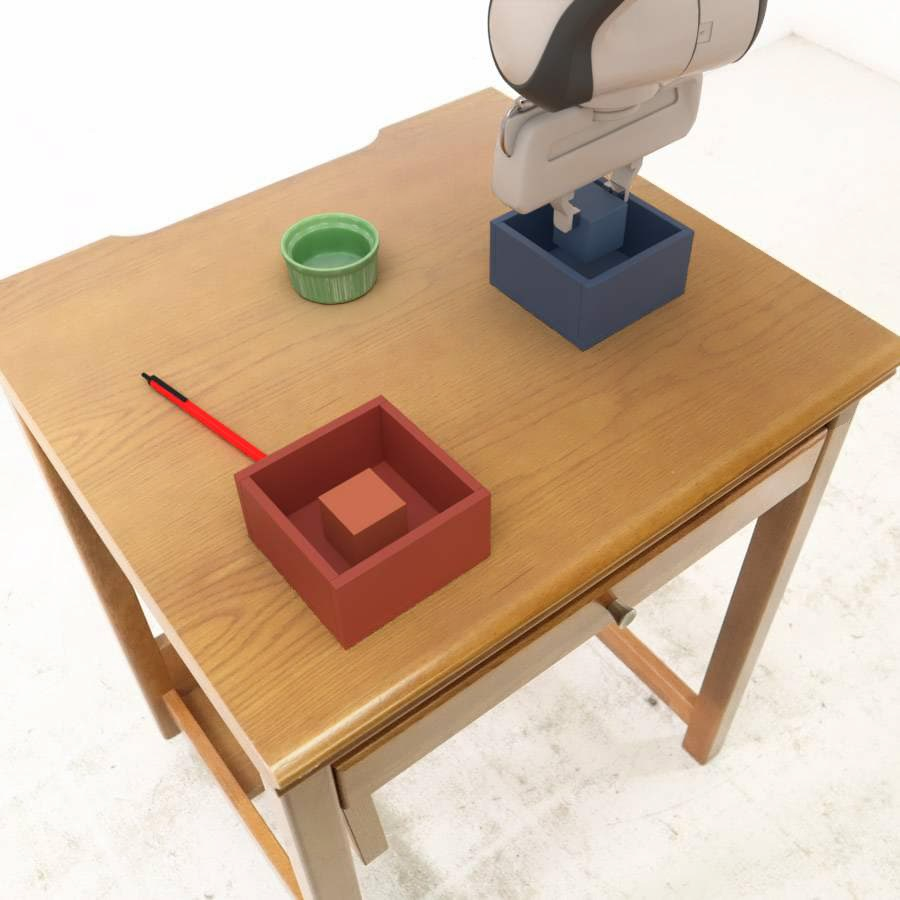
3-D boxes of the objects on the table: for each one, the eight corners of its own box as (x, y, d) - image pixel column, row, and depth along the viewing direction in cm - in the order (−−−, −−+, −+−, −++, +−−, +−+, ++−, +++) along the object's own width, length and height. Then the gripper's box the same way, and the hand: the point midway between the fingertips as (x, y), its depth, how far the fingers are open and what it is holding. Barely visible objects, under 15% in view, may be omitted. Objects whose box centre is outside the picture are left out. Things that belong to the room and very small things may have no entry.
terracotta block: (409, 543, 76) (406, 503, 73) (359, 575, 74) (354, 535, 71) (373, 507, 78) (369, 467, 75) (324, 537, 77) (317, 497, 73)
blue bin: (684, 293, 97) (695, 230, 92) (583, 351, 91) (588, 288, 86) (588, 232, 104) (593, 170, 99) (489, 282, 98) (489, 220, 93)
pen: (148, 375, 90) (145, 365, 89) (301, 483, 81) (299, 473, 80) (140, 381, 90) (137, 370, 89) (293, 490, 81) (291, 480, 80)
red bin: (490, 555, 76) (491, 492, 71) (345, 650, 71) (335, 589, 66) (387, 457, 83) (381, 394, 78) (248, 536, 78) (232, 474, 73)
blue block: (623, 246, 94) (628, 203, 90) (586, 265, 92) (590, 222, 89) (588, 223, 96) (592, 181, 93) (552, 242, 94) (555, 199, 91)
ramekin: (277, 262, 101) (270, 222, 98) (368, 243, 103) (365, 204, 100) (297, 318, 95) (291, 278, 92) (394, 297, 97) (391, 257, 94)
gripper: (530, 121, 76) (524, 278, 86) (724, 36, 84) (698, 188, 94) (474, 88, 79) (474, 243, 89) (666, 10, 88) (646, 159, 98)
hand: (591, 214), depth 92 cm, fingers closed on blue block, 4 cm apart
